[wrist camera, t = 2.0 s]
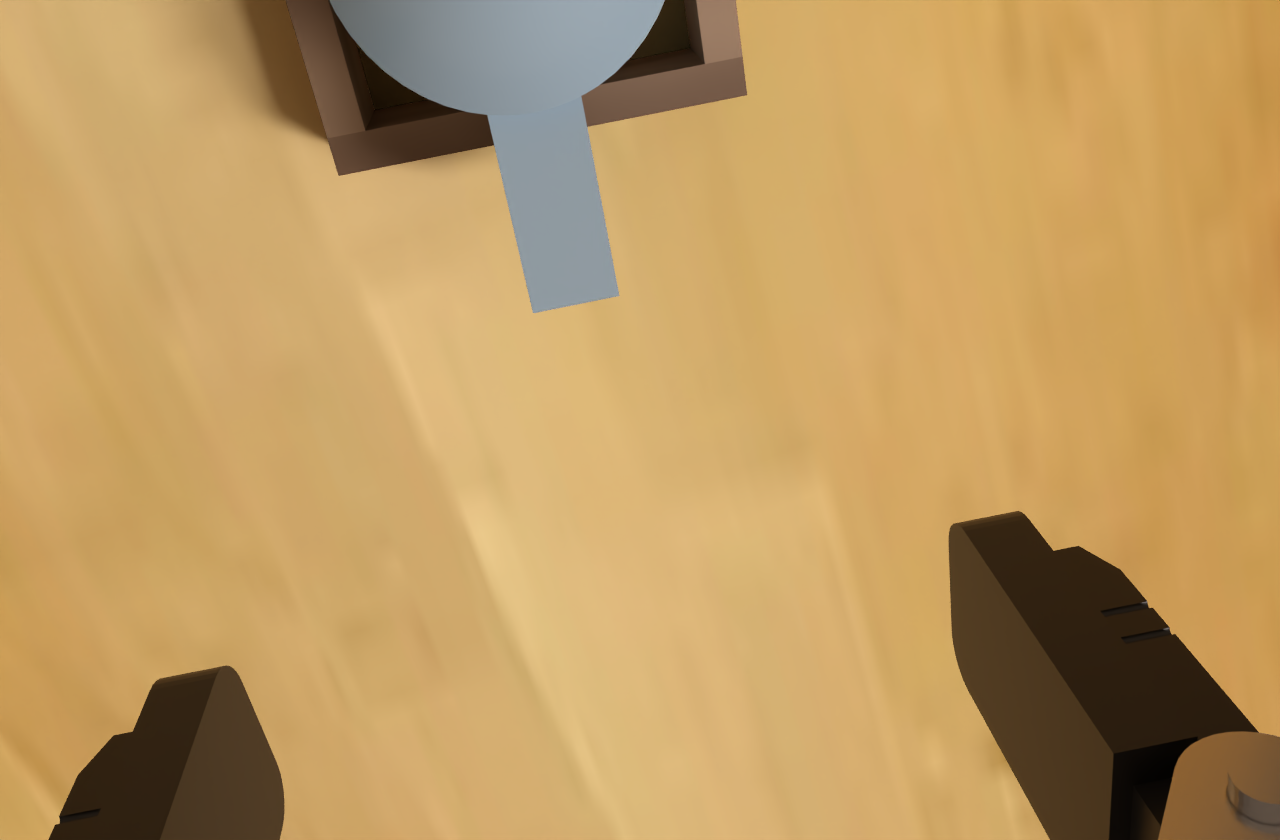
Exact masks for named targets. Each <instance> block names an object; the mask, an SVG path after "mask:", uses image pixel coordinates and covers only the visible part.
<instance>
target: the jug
mask: <svg viewBox="0 0 1280 840" xmlns="http://www.w3.org/2000/svg"><path fill="white" fill-rule="evenodd" d="M664 1H665V0H330V3H331V5H332V7H333V9H334V11H335V13H336V14H337V16H338V17H339V19H340V20H341V22H342V24H343V25H344V27H345V28H346V30H347V31H348V33H349V34H350V36H351V37H352V38H353V39H354V40H355V42H356V43H357V44H358V45H359V46H360V48H361V49H362V50H363V51H364V52H365V54H366V55H367V56H368V57H370V58H371V59H372V60H373V61H374V62H375V63H376V64H377V65H378V66H379V67H380V68H381V69H382V70H383V71H384V72H386V73H387V74H388V75H390V76H391V77H393V78H394V79H395V80H397V81H398V82H399V83H401V84H402V85H403V86H405V87H407V88H409V89H410V90H412V91H414V92H416V93H417V94H419V95H421V96H423V97H425V98H427V99H429V100H432V101H434V102H437V103H439V104H442V105H444V106H447V107H451V108H454V109H458V110H462V111H465V112H470V113H477V114H485V115H487V116H488V120H489V125H490V129H491V133H492V138H493V142H494V146H495V151H496V155H497V159H498V163H499V168H500V172H501V176H502V181H503V185H504V189H505V194H506V198H507V202H508V207H509V211H510V215H511V220H512V224H513V228H514V233H515V237H516V241H517V246H518V250H519V254H520V259H521V263H522V267H523V271H524V276H525V280H526V284H527V289H528V293H529V297H530V302H531V306H532V310H533V313H537V312H542V311H547V310H551V309H556V308H561V307H566V306H571V305H576V304H581V303H586V302H591V301H596V300H601V299H606V298H611V297H616V296H619V292H618V287H617V281H616V276H615V271H614V266H613V260H612V255H611V250H610V245H609V239H608V234H607V229H606V224H605V218H604V213H603V208H602V202H601V197H600V192H599V187H598V181H597V176H596V171H595V166H594V160H593V155H592V150H591V145H590V139H589V134H588V129H587V124H586V118H585V113H584V108H583V102H582V97H581V96H582V95H584V94H586V93H587V92H589V91H591V90H593V89H594V88H596V87H598V86H599V85H600V84H601V83H603V82H604V81H605V80H607V79H608V78H609V77H611V76H612V75H613V74H614V73H616V72H617V71H618V70H619V69H620V68H621V66H622V65H623V64H624V63H625V62H626V61H627V60H628V59H629V58H630V57H631V56H632V55H633V54H634V52H635V51H636V50H637V49H638V47H639V46H640V45H641V43H642V42H643V41H644V39H645V38H646V36H647V35H648V33H649V31H650V30H651V28H652V26H653V24H654V23H655V21H656V19H657V17H658V15H659V13H660V10H661V8H662V6H663V3H664Z"/></svg>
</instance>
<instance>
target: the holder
mask: <svg viewBox="0 0 1280 840" xmlns="http://www.w3.org/2000/svg"><path fill="white" fill-rule="evenodd" d="M286 3H287V7H288V10H289V13H290V17H291V20H292V23H293V27H294V30H295V33H296V36H297V40H298V43H299V46H300V50H301V53H302V56H303V60H304V63H305V66H306V70H307V73H308V76H309V79H310V83H311V86H312V89H313V93H314V96H315V99H316V103H317V106H318V109H319V112H320V116H321V119H322V122H323V126H324V129H325V132H326V136H327V139H328V142H329V145H330V149H331V152H332V155H333V159H334V162H335V165H336V169H337V172H338V175H339V176H340V175H345V174H350V173H355V172H361V171H366V170H371V169H376V168H381V167H386V166H391V165H396V164H401V163H406V162H411V161H416V160H421V159H426V158H431V157H436V156H441V155H447V154H452V153H457V152H462V151H467V150H472V149H477V148H482V147H487V146H492V145H494V142H493V138H492V133H491V129H490V125H489V120H488V116H487V115H485V114H477V113H470V112H465V111H462V110H458V109H454V108H451V107H447V106H444V105H442V104H439V103H437V102H434V101H432V100H425V101H419V102H414V103H409V104H404V105H399V106H394V107H389V108H384V109H379V110H374V106H373V103H372V99H371V95H370V92H369V88H368V85H367V81H366V77H365V74H364V70H363V67H362V63H361V60H360V56H359V52H358V49H357V45H356V42H355V40H354V39H353V38H352V37H351V36H350V34H349V33H348V31H347V30H346V28H345V27H344V25H343V24H342V22H341V20H340V19H339V17H338V16H337V14H336V13H335V11H334V9H333V7H332V5H331V3H330V0H286ZM684 7H685V14H686V21H687V28H688V35H689V42H690V48H689V49H684V50H679V51H674V52H669V53H664V54H659V55H654V56H648V57H643V58H638V59H633V60H628V61H626V62H625V63H624V64H623V65H622V66H621V68H620V69H619V70H618V71H617V72H616V73H614V74H613V75H612V76H611V77H609V78H608V79H607V80H605V81H604V82H603V83H601V84H600V85H599V86H598V87H596V88H594V89H593V90H591V91H589V92H587V93H586V94H584V95H582V96H581V97H582V102H583V108H584V113H585V118H586V124H587V127H588V126H593V125H598V124H603V123H608V122H613V121H619V120H624V119H629V118H634V117H639V116H644V115H649V114H654V113H659V112H664V111H669V110H674V109H679V108H684V107H689V106H694V105H699V104H705V103H710V102H715V101H720V100H725V99H730V98H735V97H740V96H745V95H747V91H746V82H745V74H744V66H743V57H742V49H741V41H740V32H739V24H738V16H737V7H736V0H684Z"/></svg>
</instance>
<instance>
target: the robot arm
mask: <svg viewBox="0 0 1280 840" xmlns="http://www.w3.org/2000/svg"><path fill="white" fill-rule="evenodd" d="M949 566H950V594H951V622H952V638H953V645H954V650H955V654H956V659H957V662H958V666H959V669H960V672H961V675H962V678H963V680H964V682H965V685H966V687H967V689H968V691H969V693H970V695H971V696H972V698H973V700H974V702H975V704H976V706H977V707H978V709H979V711H980V713H981V715H982V716H983V718H984V720H985V722H986V724H987V726H988V727H989V729H990V731H991V733H992V735H993V736H994V738H995V740H996V742H997V744H998V746H999V747H1000V749H1001V751H1002V753H1003V755H1004V757H1005V758H1006V760H1007V762H1008V764H1009V766H1010V767H1011V769H1012V771H1013V773H1014V775H1015V777H1016V778H1017V780H1018V782H1019V784H1020V786H1021V787H1022V789H1023V791H1024V793H1025V795H1026V797H1027V798H1028V800H1029V802H1030V804H1031V806H1032V807H1033V809H1034V811H1035V813H1036V815H1037V817H1038V818H1039V820H1040V822H1041V824H1042V826H1043V828H1044V829H1045V831H1046V833H1047V835H1048V837H1049V838H1050V840H1280V737H1277V736H1274V735H1269V734H1263V733H1259V732H1258V731H1257V730H1256V729H1255V727H1254V726H1253V725H1252V724H1251V723H1250V722H1249V720H1248V719H1247V718H1246V717H1245V716H1244V715H1243V713H1242V712H1241V711H1240V710H1239V709H1238V707H1237V706H1236V705H1235V704H1234V703H1233V702H1232V700H1231V699H1230V698H1229V697H1228V696H1227V695H1226V693H1225V692H1224V691H1223V690H1222V689H1221V688H1220V686H1219V685H1218V684H1217V683H1216V682H1215V680H1214V679H1213V678H1212V677H1211V676H1210V675H1209V673H1208V672H1207V671H1206V670H1205V669H1204V668H1203V666H1202V665H1201V664H1200V663H1199V662H1198V660H1197V659H1196V658H1195V657H1194V656H1193V655H1192V653H1191V652H1190V651H1189V650H1188V649H1187V648H1186V646H1185V645H1184V644H1183V643H1182V642H1181V640H1180V639H1179V638H1178V637H1177V636H1176V635H1175V634H1173V635H1172V634H1171V633H1170V629H1169V626H1168V625H1167V624H1166V623H1165V622H1164V620H1163V619H1162V618H1161V617H1160V616H1159V615H1158V613H1157V612H1156V611H1155V610H1154V609H1153V608H1149V607H1148V604H1147V600H1146V599H1145V598H1144V597H1143V596H1142V595H1141V593H1140V592H1139V591H1138V590H1137V589H1136V588H1135V586H1134V585H1133V584H1132V583H1131V582H1130V580H1129V579H1128V578H1127V577H1126V576H1125V575H1124V573H1123V572H1122V571H1121V570H1120V569H1118V568H1116V567H1115V566H1113V565H1111V564H1109V563H1108V562H1106V561H1104V560H1102V559H1101V558H1099V557H1097V556H1095V555H1094V554H1092V553H1090V552H1088V551H1086V550H1085V549H1083V548H1081V547H1079V546H1076V547H1071V548H1066V549H1061V550H1056V551H1053V550H1052V548H1051V547H1050V546H1049V545H1048V543H1047V542H1046V541H1045V539H1044V538H1043V537H1042V536H1041V534H1040V533H1039V532H1038V530H1037V529H1036V528H1035V527H1034V525H1033V524H1032V523H1031V521H1030V520H1029V519H1028V518H1027V517H1026V515H1025V514H1023V513H1022V512H1019V511H1016V512H1011V513H1005V514H1000V515H995V516H990V517H985V518H980V519H975V520H970V521H965V522H960V523H955V524H953V525H952V526H951V528H950V531H949ZM59 818H60V824H57V825H55V827H54V829H53V831H52V833H51V835H50V837H49V840H280V835H281V831H282V826H283V820H284V791H283V784H282V779H281V774H280V771H279V768H278V765H277V762H276V760H275V758H274V755H273V753H272V751H271V748H270V746H269V744H268V741H267V739H266V737H265V734H264V732H263V730H262V727H261V725H260V723H259V720H258V718H257V716H256V713H255V711H254V709H253V706H252V704H251V702H250V699H249V697H248V695H247V692H246V690H245V688H244V685H243V683H242V681H241V679H240V677H239V675H238V674H237V672H236V671H235V670H234V669H233V668H232V667H230V666H222V667H217V668H212V669H207V670H202V671H197V672H192V673H186V674H181V675H176V676H171V677H166V678H161V679H159V680H157V681H156V682H155V683H154V684H153V686H152V688H151V690H150V692H149V694H148V697H147V699H146V701H145V704H144V706H143V709H142V711H141V713H140V716H139V718H138V721H137V723H136V725H135V728H134V730H133V732H129V733H124V734H119V735H114V736H113V737H112V738H111V739H110V740H109V741H108V742H107V743H106V745H105V746H104V747H103V748H102V749H101V750H100V751H99V752H98V753H97V755H96V756H95V757H94V758H93V759H92V760H91V761H90V762H89V763H88V765H87V766H86V767H85V768H84V769H83V770H82V771H81V772H80V773H79V775H78V776H77V778H76V781H75V783H74V785H73V787H72V789H71V792H70V794H69V796H68V798H67V800H66V802H65V805H64V807H63V809H62V811H61V813H60V816H59Z"/></svg>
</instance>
